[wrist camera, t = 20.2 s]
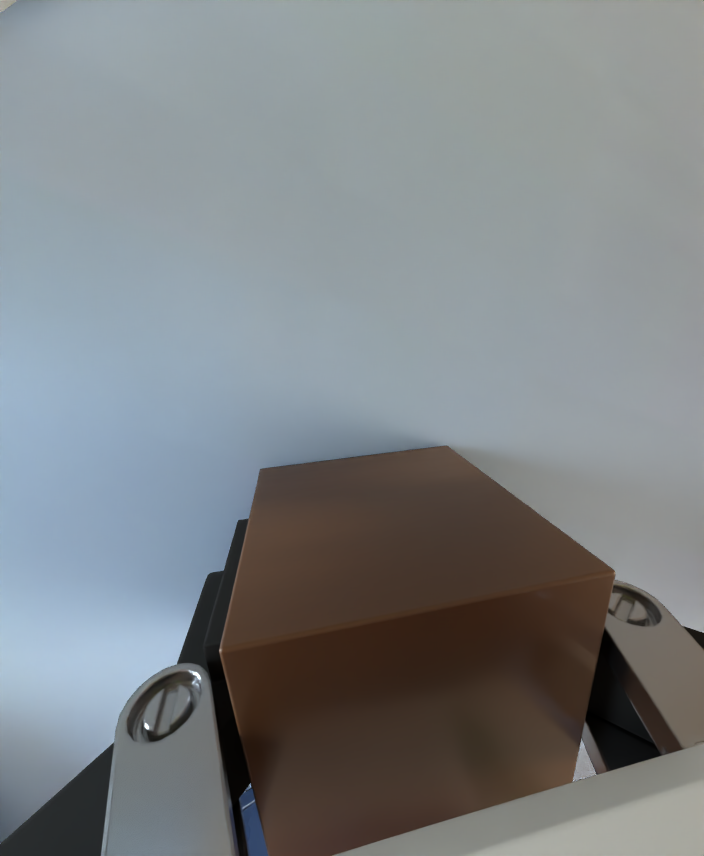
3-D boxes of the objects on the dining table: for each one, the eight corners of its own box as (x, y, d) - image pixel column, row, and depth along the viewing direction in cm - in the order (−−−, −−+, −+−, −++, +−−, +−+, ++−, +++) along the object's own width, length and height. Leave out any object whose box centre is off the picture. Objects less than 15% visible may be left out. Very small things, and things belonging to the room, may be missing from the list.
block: (284, 624, 11) (277, 899, 6) (259, 468, 9) (216, 651, 4) (444, 592, 12) (568, 808, 6) (447, 444, 10) (618, 570, 5)
